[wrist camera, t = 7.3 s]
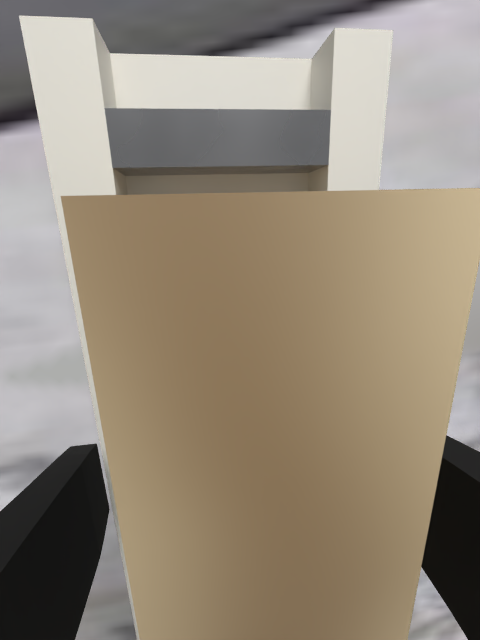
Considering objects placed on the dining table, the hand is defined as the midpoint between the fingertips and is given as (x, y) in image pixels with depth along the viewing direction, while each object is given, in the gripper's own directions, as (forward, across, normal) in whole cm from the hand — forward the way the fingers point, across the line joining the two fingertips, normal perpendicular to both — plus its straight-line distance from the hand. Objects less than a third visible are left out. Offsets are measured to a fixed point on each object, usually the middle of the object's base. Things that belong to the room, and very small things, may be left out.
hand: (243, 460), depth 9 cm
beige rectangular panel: (+3, 0, 0) cm, 3 cm away
